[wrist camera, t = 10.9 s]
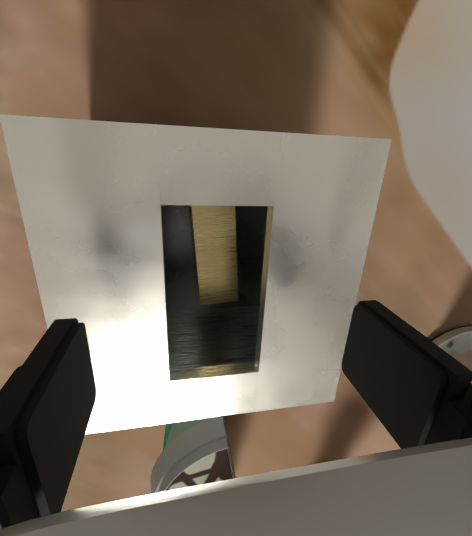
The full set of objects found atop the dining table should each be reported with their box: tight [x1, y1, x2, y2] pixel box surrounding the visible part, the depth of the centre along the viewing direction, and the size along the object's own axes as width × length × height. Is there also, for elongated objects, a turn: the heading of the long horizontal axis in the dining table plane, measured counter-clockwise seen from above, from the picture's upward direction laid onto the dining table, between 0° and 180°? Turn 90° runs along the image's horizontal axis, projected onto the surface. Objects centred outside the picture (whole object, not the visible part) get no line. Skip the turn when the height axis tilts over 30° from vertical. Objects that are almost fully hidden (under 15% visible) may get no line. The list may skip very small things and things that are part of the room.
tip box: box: [0, 115, 392, 434], centre depth 18 cm, size 14×14×11 cm
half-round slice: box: [151, 416, 236, 493], centre depth 25 cm, size 12×6×10 cm, turn 7°
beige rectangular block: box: [189, 205, 238, 305], centre depth 20 cm, size 2×5×7 cm
